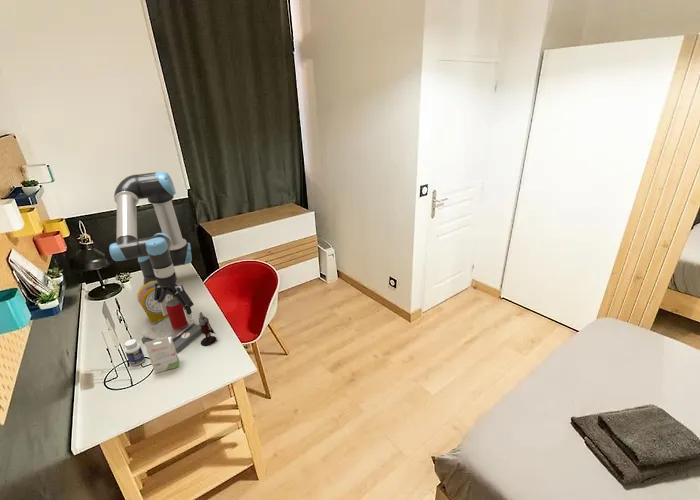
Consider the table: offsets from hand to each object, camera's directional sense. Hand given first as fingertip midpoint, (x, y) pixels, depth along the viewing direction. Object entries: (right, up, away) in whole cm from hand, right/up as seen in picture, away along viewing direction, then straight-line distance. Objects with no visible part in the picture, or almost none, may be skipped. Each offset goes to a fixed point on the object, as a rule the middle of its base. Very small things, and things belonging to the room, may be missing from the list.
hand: (178, 316), depth 156 cm
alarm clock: (-16, -3, +17) cm, 24 cm away
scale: (-2, -9, +1) cm, 9 cm away
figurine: (+15, -10, -2) cm, 18 cm away
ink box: (+3, -17, -15) cm, 23 cm away
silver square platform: (-4, -7, +1) cm, 8 cm away
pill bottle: (-10, -16, -12) cm, 23 cm away
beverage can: (0, -4, +2) cm, 5 cm away
